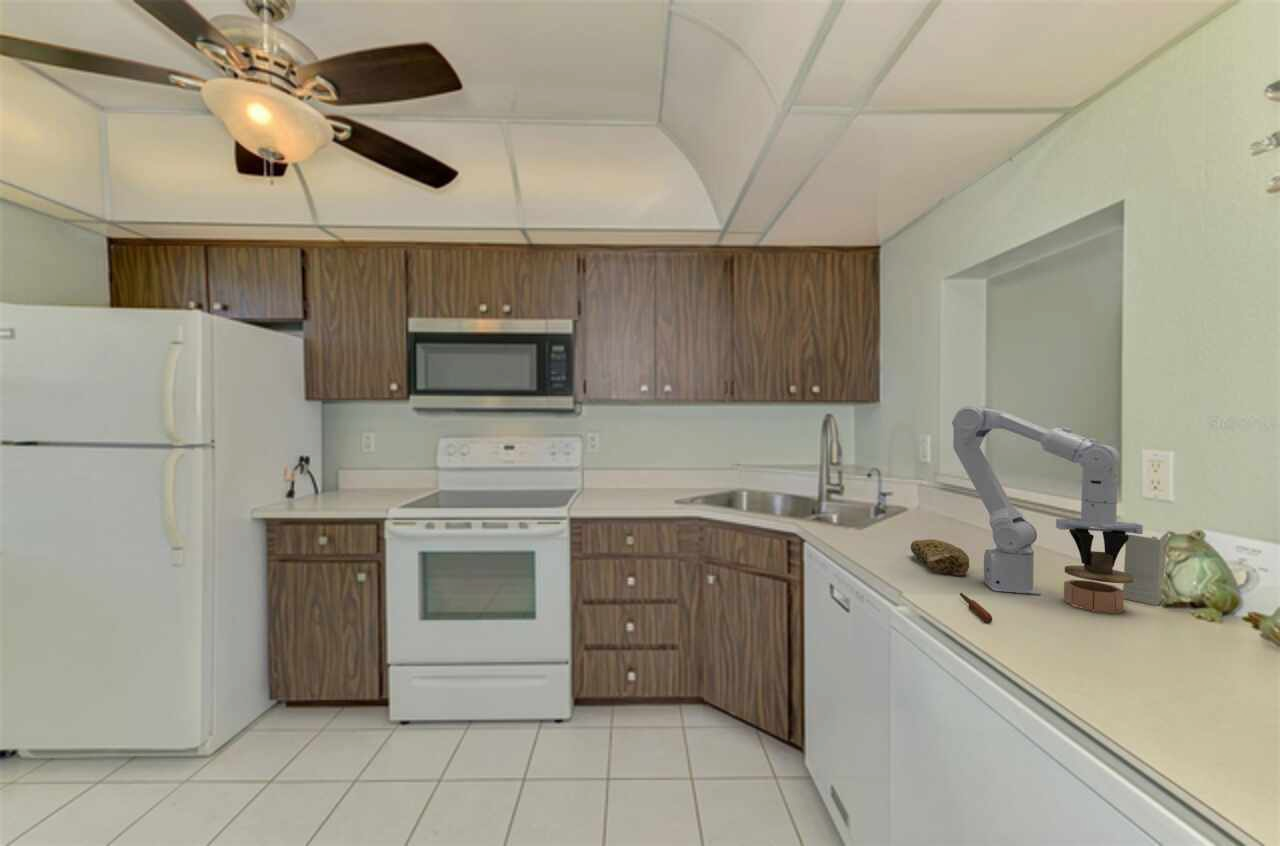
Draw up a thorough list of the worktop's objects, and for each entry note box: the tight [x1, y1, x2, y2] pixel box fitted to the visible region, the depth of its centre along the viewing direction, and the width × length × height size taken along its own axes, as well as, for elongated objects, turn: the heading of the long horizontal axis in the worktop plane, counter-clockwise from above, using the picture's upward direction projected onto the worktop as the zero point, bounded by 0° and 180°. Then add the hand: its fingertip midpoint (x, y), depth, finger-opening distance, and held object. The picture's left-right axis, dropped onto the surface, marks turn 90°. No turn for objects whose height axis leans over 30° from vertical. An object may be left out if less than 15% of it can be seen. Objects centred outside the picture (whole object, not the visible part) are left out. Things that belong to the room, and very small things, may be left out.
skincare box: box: [1122, 529, 1167, 606], centre depth 121 cm, size 8×6×15 cm
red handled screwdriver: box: [959, 592, 993, 624], centre depth 114 cm, size 16×1×2 cm, turn 168°
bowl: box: [1063, 579, 1125, 614], centre depth 117 cm, size 9×9×4 cm
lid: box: [1064, 550, 1134, 584], centre depth 116 cm, size 11×11×5 cm
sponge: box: [910, 538, 970, 577], centre depth 147 cm, size 13×8×20 cm
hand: (1097, 565), depth 116 cm, fingers closed on lid, 3 cm apart
